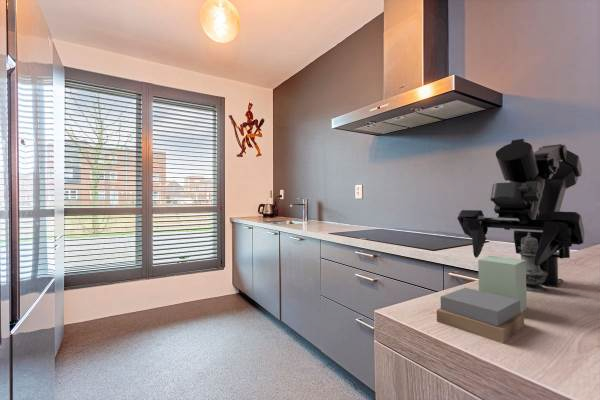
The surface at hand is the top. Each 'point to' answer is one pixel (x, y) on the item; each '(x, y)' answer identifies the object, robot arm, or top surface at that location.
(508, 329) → the walnut base slab
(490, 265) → the sage green block
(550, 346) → the top surface
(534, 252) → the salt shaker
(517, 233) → the robot arm
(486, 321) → the charcoal top slab
